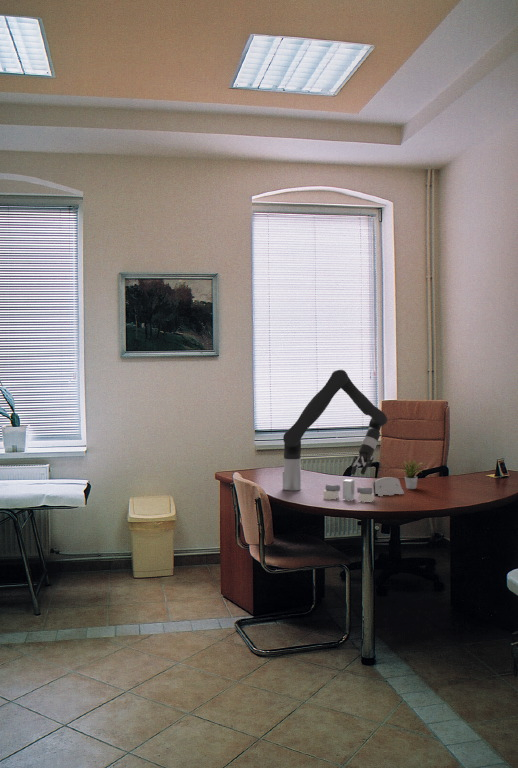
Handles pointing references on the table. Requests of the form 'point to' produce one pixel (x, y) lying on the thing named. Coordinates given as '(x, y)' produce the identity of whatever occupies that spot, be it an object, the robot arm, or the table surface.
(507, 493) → the table surface
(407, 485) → the house plant
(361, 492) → the white and grey block
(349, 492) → the coupler
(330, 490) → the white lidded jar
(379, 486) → the grey rounded block
